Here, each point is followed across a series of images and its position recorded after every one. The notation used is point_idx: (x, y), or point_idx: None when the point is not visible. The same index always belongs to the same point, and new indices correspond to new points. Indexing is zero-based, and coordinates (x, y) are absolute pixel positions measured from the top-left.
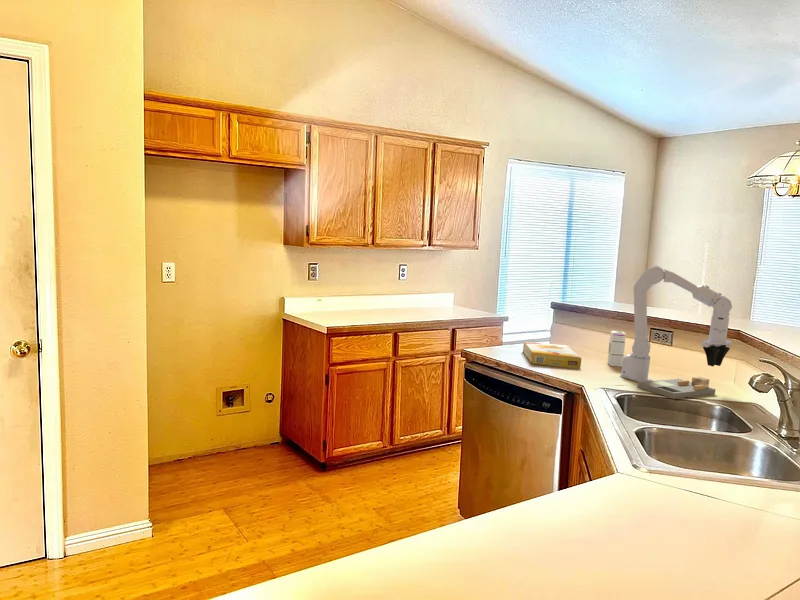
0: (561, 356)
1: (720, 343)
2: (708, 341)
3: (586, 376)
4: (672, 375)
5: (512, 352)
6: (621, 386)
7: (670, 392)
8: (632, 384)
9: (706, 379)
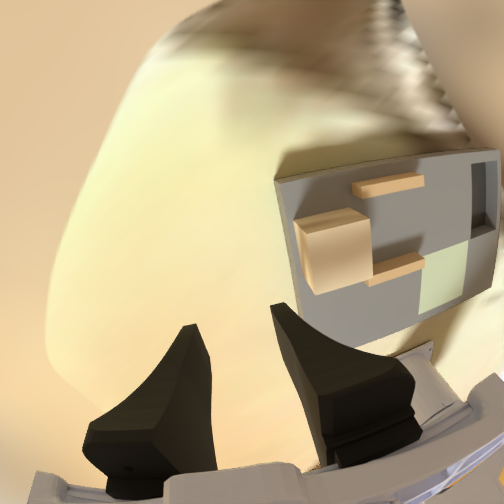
0: None
1: (356, 484)
2: (470, 464)
3: (483, 363)
4: (218, 435)
5: None
6: (499, 287)
7: (500, 164)
8: (464, 313)
9: (332, 229)
